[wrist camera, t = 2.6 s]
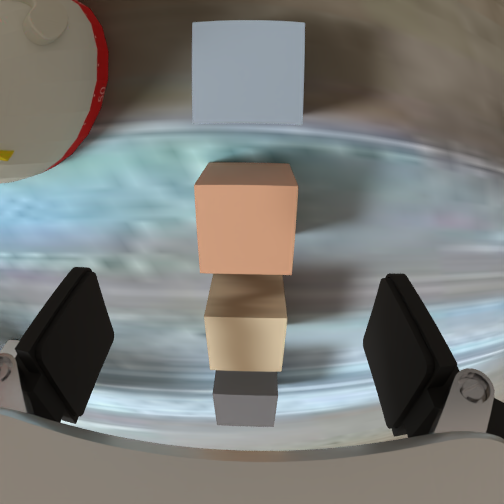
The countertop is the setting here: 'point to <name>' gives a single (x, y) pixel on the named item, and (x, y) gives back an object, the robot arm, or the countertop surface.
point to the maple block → (246, 322)
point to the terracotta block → (246, 218)
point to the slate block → (248, 72)
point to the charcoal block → (245, 398)
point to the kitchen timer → (47, 82)
